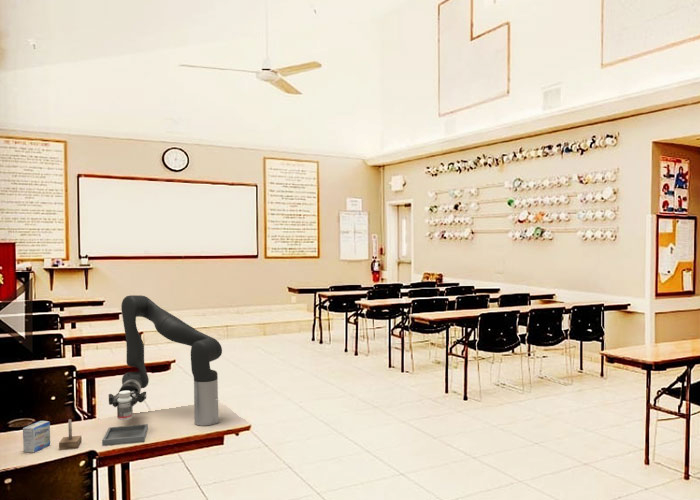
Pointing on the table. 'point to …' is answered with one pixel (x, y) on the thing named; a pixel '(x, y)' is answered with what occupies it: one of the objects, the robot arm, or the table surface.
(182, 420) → the table surface
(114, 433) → the tray
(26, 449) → the medicine box
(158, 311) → the robot arm
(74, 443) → the stand
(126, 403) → the pill bottle
